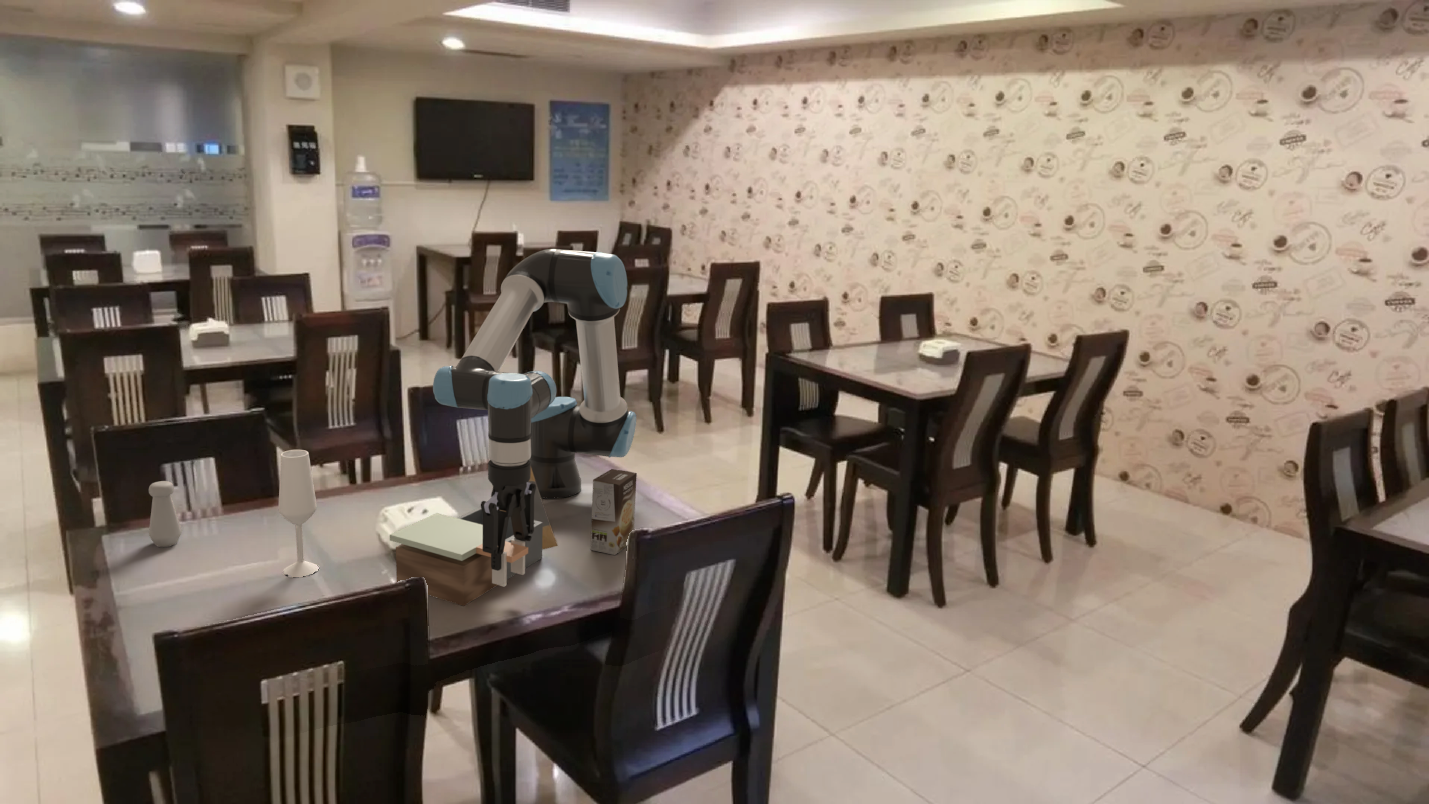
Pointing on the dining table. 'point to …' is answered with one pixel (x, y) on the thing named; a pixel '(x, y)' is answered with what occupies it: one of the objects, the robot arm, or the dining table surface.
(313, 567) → the champagne flute
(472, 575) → the stand
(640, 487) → the dining table surface
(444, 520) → the lid
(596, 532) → the coffee box
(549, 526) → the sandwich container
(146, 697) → the dining table surface
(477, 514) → the tub
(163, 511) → the salt shaker
